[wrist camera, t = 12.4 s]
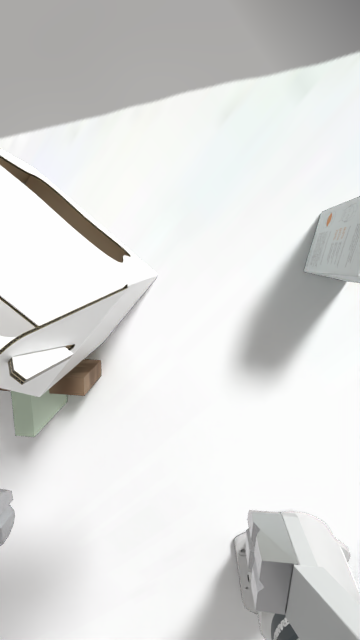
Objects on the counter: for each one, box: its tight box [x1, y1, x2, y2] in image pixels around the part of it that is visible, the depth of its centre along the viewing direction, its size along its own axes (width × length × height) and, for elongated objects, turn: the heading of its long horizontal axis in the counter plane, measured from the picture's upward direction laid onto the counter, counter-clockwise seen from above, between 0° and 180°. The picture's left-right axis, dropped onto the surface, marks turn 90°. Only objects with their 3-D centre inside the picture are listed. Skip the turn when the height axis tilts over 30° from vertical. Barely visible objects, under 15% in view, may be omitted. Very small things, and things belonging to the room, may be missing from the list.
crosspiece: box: [11, 389, 67, 437], centre depth 38 cm, size 12×2×9 cm, turn 178°
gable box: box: [0, 148, 158, 397], centre depth 25 cm, size 22×13×28 cm, turn 49°
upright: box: [0, 359, 101, 396], centre depth 39 cm, size 14×2×6 cm, turn 88°
